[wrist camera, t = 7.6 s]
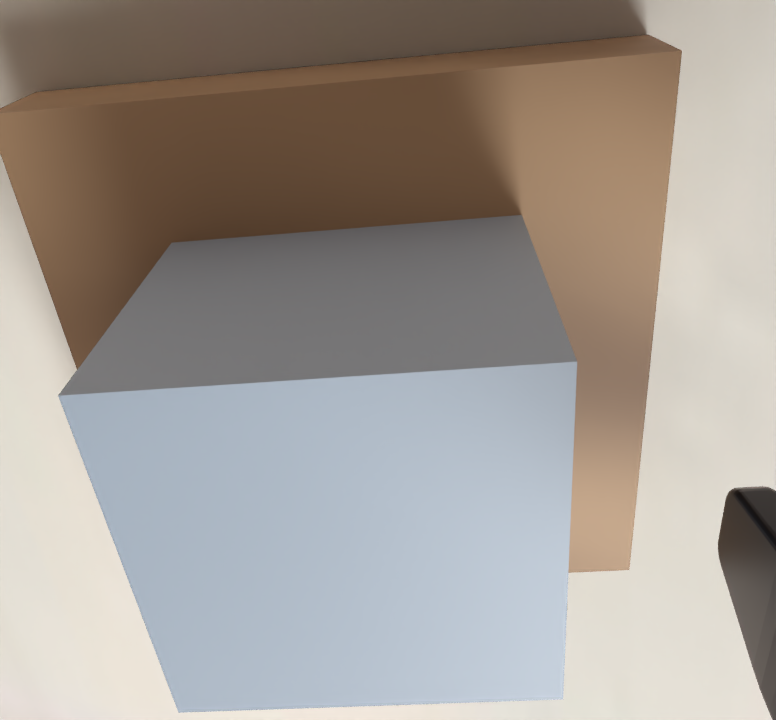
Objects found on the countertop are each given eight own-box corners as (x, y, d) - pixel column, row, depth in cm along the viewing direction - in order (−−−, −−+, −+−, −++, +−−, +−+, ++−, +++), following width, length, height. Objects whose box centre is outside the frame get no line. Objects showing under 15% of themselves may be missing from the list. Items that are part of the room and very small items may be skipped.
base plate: (610, 513, 15) (628, 569, 14) (177, 535, 16) (156, 591, 14) (648, 34, 10) (681, 50, 9) (36, 92, 11) (-14, 115, 10)
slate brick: (522, 491, 13) (562, 699, 9) (239, 506, 13) (178, 712, 10) (522, 214, 10) (577, 361, 7) (171, 242, 11) (59, 395, 7)
